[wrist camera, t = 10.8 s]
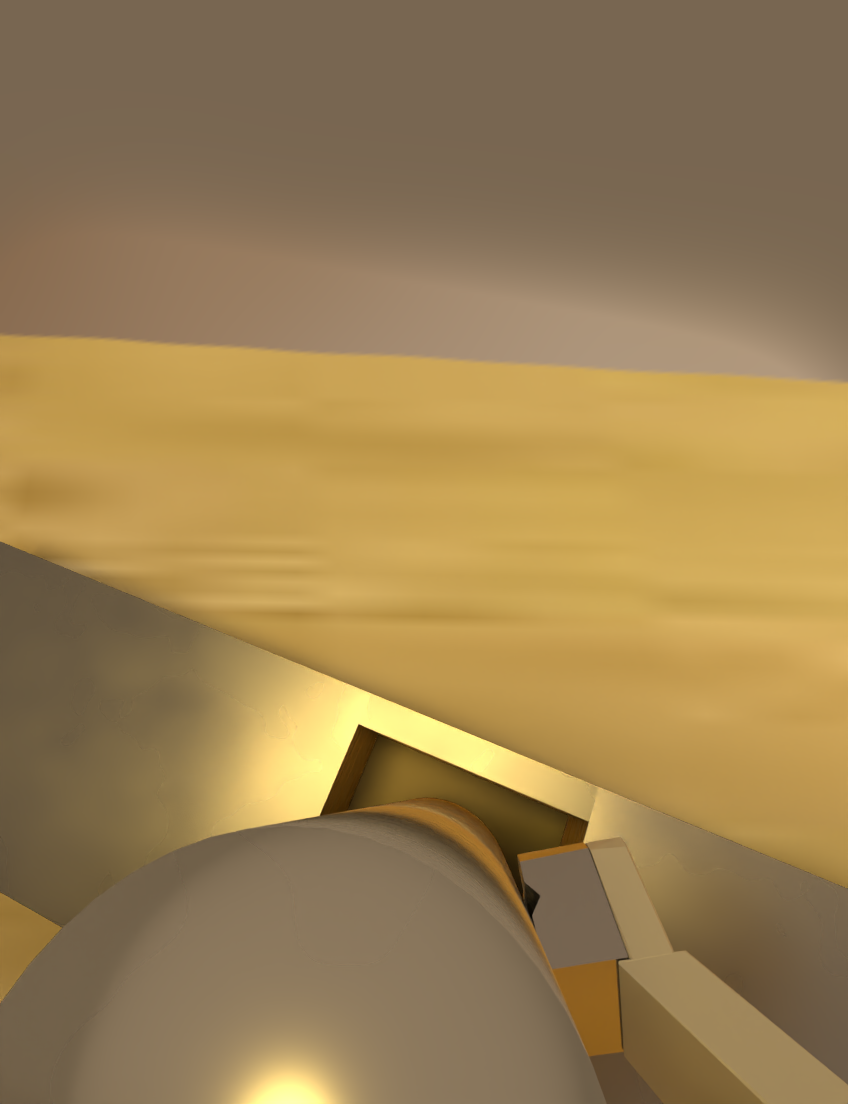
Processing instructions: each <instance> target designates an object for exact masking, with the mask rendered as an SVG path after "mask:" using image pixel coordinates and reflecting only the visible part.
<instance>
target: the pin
mask: <svg viewBox="0 0 848 1104" xmlns="http://www.w3.org/2000/svg"><path fill="white" fill-rule="evenodd" d="M0 1104H607V1103H606V1100H605V1098H604V1095H603V1092H602V1089H601V1087H600V1084H599V1081H598V1079H597V1076H596V1073H595V1070H594V1068H593V1065H592V1063H591V1060H590V1058H589V1056H588V1053H587V1051H586V1049H585V1046H584V1044H583V1042H582V1039H581V1037H580V1034H579V1032H578V1030H577V1027H576V1025H575V1023H574V1020H573V1018H572V1016H571V1013H570V1011H569V1008H568V1006H567V1004H566V1001H565V999H564V997H563V994H562V992H561V990H560V987H559V985H558V982H557V980H556V978H555V975H554V973H553V971H552V968H551V966H550V964H549V961H548V959H547V956H546V954H545V952H544V949H543V947H542V945H541V942H540V940H539V938H538V935H537V933H536V930H535V928H534V926H533V923H532V921H531V919H530V916H529V914H528V912H527V909H526V907H525V904H524V902H523V900H522V897H521V895H520V893H519V890H518V888H517V886H516V883H515V881H514V878H513V876H512V874H511V871H510V869H509V867H508V864H507V862H506V860H505V857H504V855H503V852H502V850H501V848H500V846H499V844H498V842H497V841H496V839H495V837H494V836H493V834H492V833H491V831H490V830H489V829H488V828H487V827H486V825H485V824H484V823H483V822H482V821H481V820H480V819H479V818H477V817H476V816H475V815H474V814H472V813H471V812H470V811H468V810H467V809H465V808H463V807H461V806H459V805H457V804H455V803H452V802H449V801H446V800H442V799H437V798H418V799H412V800H406V801H400V802H395V803H389V804H383V805H378V806H372V807H367V808H361V809H355V810H350V811H344V812H339V813H333V814H327V815H322V816H316V817H310V818H305V819H299V820H294V821H288V822H282V823H277V824H271V825H266V826H260V827H254V828H249V829H244V830H240V831H235V832H231V833H226V834H222V835H217V836H213V837H209V838H206V839H203V840H201V841H198V842H195V843H193V844H190V845H187V846H185V847H182V848H179V849H177V850H174V851H171V852H169V853H168V854H166V855H164V856H162V857H160V858H158V859H156V860H154V861H152V862H151V863H149V864H147V865H145V866H143V867H141V868H139V869H137V870H136V871H134V872H132V873H131V874H129V875H128V876H127V877H125V878H124V879H122V880H121V881H119V882H118V883H117V884H115V885H114V886H112V887H111V888H109V889H108V890H107V891H105V892H104V893H102V894H101V895H99V896H98V897H97V898H96V899H94V900H93V901H92V902H91V903H90V904H89V905H88V906H87V907H85V908H84V909H83V910H82V911H81V912H80V913H79V914H78V915H76V916H75V917H74V918H73V919H72V920H71V921H70V922H69V923H67V924H66V925H65V926H64V927H63V928H62V929H61V930H60V931H59V932H58V933H57V934H56V936H55V937H54V938H53V939H52V940H51V941H50V942H49V943H48V944H47V945H46V947H45V948H44V949H43V950H42V951H41V952H40V953H39V954H38V955H37V956H36V958H35V959H34V960H33V961H32V962H31V963H30V964H29V966H28V967H27V968H26V970H25V971H24V972H23V974H22V975H21V976H20V978H19V979H18V980H17V982H16V983H15V984H14V986H13V987H12V988H11V990H10V991H9V993H8V994H7V995H6V997H5V998H4V999H3V1001H2V1002H1V1003H0Z"/></svg>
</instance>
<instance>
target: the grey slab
mask: <svg viewBox="0 0 848 1104" xmlns="http://www.w3.org/2000/svg"><path fill="white" fill-rule="evenodd" d="M378 735H380V736H383V737H385V738H388V739H390V740H392V741H395V742H397V743H399V744H402V745H404V746H406V747H409V748H411V749H413V750H416V751H418V752H420V753H423V754H425V755H428V756H430V757H432V758H435V759H437V760H439V761H442V762H444V763H446V764H449V765H451V766H453V767H456V768H458V769H461V770H463V771H465V772H468V773H470V774H472V775H475V776H477V777H479V778H482V779H484V780H486V781H489V782H491V783H493V784H496V785H498V786H501V787H503V788H505V789H508V790H510V791H512V792H515V793H517V794H519V795H522V796H524V797H526V798H529V799H531V800H534V801H536V802H538V803H541V804H543V805H545V806H548V807H550V808H552V809H555V810H557V811H559V812H562V813H564V814H566V815H569V817H568V820H567V823H566V827H565V830H564V834H563V837H562V840H561V844H560V846H566V845H571V844H577V843H582V842H584V844H586V843H588V842H593V841H599V840H605V839H610V838H616V837H621V839H622V840H623V841H624V842H625V843H626V845H627V847H628V849H629V851H630V854H631V856H632V858H633V860H634V863H635V865H636V867H637V869H638V872H639V874H640V876H641V878H642V881H643V883H644V885H645V887H646V890H647V892H648V894H649V896H650V898H651V901H652V903H653V905H654V907H655V910H656V912H657V914H658V916H659V919H660V921H661V923H662V925H663V928H664V930H665V932H666V934H667V937H668V939H669V941H670V943H671V946H672V948H673V950H674V952H676V951H684V950H686V951H687V952H688V953H690V954H691V955H692V956H693V957H694V958H696V959H697V960H698V961H699V962H700V963H702V964H703V965H704V966H705V967H706V968H708V969H709V970H710V971H711V972H713V973H714V974H715V975H716V976H717V977H719V978H720V979H721V980H722V981H723V982H725V983H726V984H727V985H728V986H729V987H731V988H732V989H733V990H734V991H735V992H737V993H738V994H739V995H740V996H741V997H743V998H744V999H745V1000H746V1001H747V1002H749V1003H750V1004H751V1005H752V1006H753V1007H755V1008H756V1009H757V1010H758V1011H759V1012H761V1013H762V1014H763V1015H764V1016H766V1017H767V1018H768V1019H769V1020H770V1021H772V1022H773V1023H774V1024H775V1025H776V1026H778V1027H779V1028H780V1029H781V1030H782V1031H784V1032H785V1033H786V1034H787V1035H788V1036H790V1037H791V1038H792V1039H793V1040H794V1041H796V1042H797V1043H798V1044H799V1045H800V1046H802V1047H803V1048H804V1049H805V1050H806V1051H808V1052H809V1053H810V1054H811V1055H812V1056H814V1057H815V1058H816V1059H817V1060H819V1061H820V1062H821V1063H822V1064H823V1065H825V1066H826V1067H827V1068H828V1069H829V1070H831V1071H832V1072H833V1073H834V1074H835V1075H837V1076H838V1077H839V1078H840V1079H841V1080H843V1081H844V1082H845V1083H846V1084H847V1085H848V889H847V888H845V887H842V886H840V885H837V884H835V883H832V882H830V881H828V880H825V879H823V878H820V877H818V876H815V875H813V874H810V873H808V872H806V871H803V870H801V869H798V868H796V867H793V866H791V865H788V864H786V863H784V862H781V861H779V860H776V859H774V858H771V857H769V856H767V855H764V854H762V853H759V852H757V851H754V850H752V849H749V848H747V847H745V846H742V845H740V844H737V843H735V842H732V841H730V840H727V839H725V838H723V837H720V836H718V835H715V834H713V833H710V832H708V831H705V830H703V829H701V828H698V827H696V826H693V825H691V824H688V823H686V822H684V821H681V820H679V819H676V818H674V817H671V816H669V815H666V814H664V813H662V812H659V811H657V810H654V809H652V808H649V807H647V806H644V805H642V804H640V803H637V802H635V801H632V800H630V799H627V798H625V797H622V796H620V795H618V794H615V793H613V792H610V791H608V790H605V789H603V788H601V787H598V786H596V785H593V784H591V783H588V782H586V781H583V780H581V779H579V778H576V777H574V776H571V775H569V774H566V773H564V772H561V771H559V770H557V769H554V768H552V767H549V766H547V765H544V764H542V763H539V762H537V761H535V760H532V759H530V758H527V757H525V756H522V755H520V754H517V753H515V752H513V751H510V750H508V749H505V748H503V747H500V746H498V745H496V744H493V743H491V742H488V741H486V740H483V739H481V738H478V737H476V736H474V735H471V734H469V733H466V732H464V731H461V730H459V729H456V728H454V727H452V726H449V725H447V724H444V723H442V722H439V721H437V720H434V719H432V718H430V717H427V716H425V715H422V714H420V713H417V712H415V711H413V710H410V709H408V708H405V707H403V706H400V705H398V704H395V703H393V702H391V701H388V700H386V699H383V698H381V697H378V696H376V695H373V694H371V693H369V692H366V691H364V690H361V689H359V688H356V687H354V686H351V685H349V684H347V683H344V682H342V681H339V680H337V679H334V678H332V677H330V676H327V675H325V674H322V673H320V672H317V671H315V670H312V669H310V668H308V667H305V666H303V665H300V664H298V663H295V662H293V661H290V660H288V659H286V658H283V657H281V656H278V655H276V654H273V653H271V652H268V651H266V650H264V649H261V648H259V647H256V646H254V645H251V644H249V643H247V642H244V641H242V640H239V639H237V638H234V637H232V636H229V635H227V634H225V633H222V632H220V631H217V630H215V629H212V628H210V627H207V626H205V625H203V624H200V623H198V622H195V621H193V620H190V619H188V618H185V617H183V616H181V615H178V614H176V613H173V612H171V611H168V610H166V609H164V608H161V607H159V606H156V605H154V604H151V603H149V602H146V601H144V600H142V599H139V598H137V597H134V596H132V595H129V594H127V593H124V592H122V591H120V590H117V589H115V588H112V587H110V586H107V585H105V584H102V583H100V582H98V581H95V580H93V579H90V578H88V577H85V576H83V575H81V574H78V573H76V572H73V571H71V570H68V569H66V568H63V567H61V566H59V565H56V564H54V563H51V562H49V561H46V560H44V559H41V558H39V557H37V556H34V555H32V554H29V553H27V552H24V551H22V550H19V549H17V548H15V547H12V546H10V545H7V544H5V543H2V542H0V892H1V893H3V894H4V895H6V896H8V897H10V898H11V899H13V900H15V901H17V902H18V903H20V904H22V905H24V906H25V907H27V908H29V909H31V910H32V911H34V912H36V913H38V914H39V915H41V916H43V917H45V918H46V919H48V920H50V921H52V922H53V923H55V924H57V925H59V926H60V927H62V928H63V927H64V926H65V925H66V924H67V923H69V922H70V921H71V920H72V919H73V918H74V917H75V916H76V915H78V914H79V913H80V912H81V911H82V910H83V909H84V908H85V907H87V906H88V905H89V904H90V903H91V902H92V901H93V900H94V899H96V898H97V897H98V896H99V895H101V894H102V893H104V892H105V891H107V890H108V889H109V888H111V887H112V886H114V885H115V884H117V883H118V882H119V881H121V880H122V879H124V878H125V877H127V876H128V875H129V874H131V873H132V872H134V871H136V870H137V869H139V868H141V867H143V866H145V865H147V864H149V863H151V862H152V861H154V860H156V859H158V858H160V857H162V856H164V855H166V854H168V853H169V852H171V851H174V850H177V849H179V848H182V847H185V846H187V845H190V844H193V843H195V842H198V841H201V840H203V839H206V838H209V837H213V836H217V835H222V834H226V833H231V832H235V831H240V830H244V829H249V828H254V827H260V826H266V825H271V824H277V823H282V822H288V821H294V820H299V819H305V818H310V817H316V816H322V815H327V814H333V813H339V812H344V811H347V809H348V807H349V804H350V802H351V800H352V797H353V795H354V792H355V790H356V787H357V785H358V783H359V780H360V778H361V775H362V773H363V770H364V768H365V766H366V763H367V761H368V758H369V756H370V753H371V751H372V748H373V746H374V744H375V741H376V739H377V736H378ZM589 1058H590V1060H591V1063H592V1065H593V1068H594V1070H595V1073H596V1076H597V1079H598V1081H599V1084H600V1087H601V1089H602V1092H603V1095H604V1098H605V1100H606V1103H607V1104H663V1102H662V1101H661V1100H660V1099H659V1098H658V1096H657V1095H656V1094H655V1093H654V1091H653V1090H652V1089H651V1088H650V1087H649V1085H648V1084H647V1083H646V1082H645V1081H644V1079H643V1078H642V1077H641V1076H640V1075H639V1073H638V1072H637V1071H636V1070H635V1069H634V1067H633V1066H632V1065H631V1064H630V1063H629V1061H628V1060H627V1059H626V1058H625V1057H624V1052H618V1053H610V1054H603V1055H595V1056H589Z"/></svg>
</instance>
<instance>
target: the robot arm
mask: <svg viewBox="0 0 848 1104" xmlns="http://www.w3.org/2000/svg"><path fill="white" fill-rule="evenodd" d="M517 858H518V866H519V873H520V878H521V882H522V887H523V891H524V893H523V899H524V904H525V907H526V909H527V912H528V914H529V916H530V919H531V921H532V923H533V926H534V928H535V930H536V933H537V935H538V938H539V940H540V942H541V945H542V947H543V949H544V952H545V954H546V956H547V959H548V961H549V964H550V966H551V968H552V971H553V973H554V975H555V978H556V980H557V982H558V985H559V987H560V990H561V992H562V994H563V997H564V999H565V1001H566V1004H567V1006H568V1008H569V1011H570V1013H571V1016H572V1018H573V1020H574V1023H575V1025H576V1027H577V1030H578V1032H579V1034H580V1037H581V1039H582V1042H583V1044H584V1046H585V1049H586V1051H587V1053H588V1056H595V1055H603V1054H610V1053H618V1052H624V1057H625V1058H626V1059H627V1060H628V1061H629V1063H630V1064H631V1065H632V1066H633V1067H634V1069H635V1070H636V1071H637V1072H638V1073H639V1075H640V1076H641V1077H642V1078H643V1079H644V1081H645V1082H646V1083H647V1084H648V1085H649V1087H650V1088H651V1089H652V1090H653V1091H654V1093H655V1094H656V1095H657V1096H658V1098H659V1099H660V1100H661V1101H662V1102H663V1104H848V1085H847V1084H846V1083H845V1082H844V1081H843V1080H841V1079H840V1078H839V1077H838V1076H837V1075H835V1074H834V1073H833V1072H832V1071H831V1070H829V1069H828V1068H827V1067H826V1066H825V1065H823V1064H822V1063H821V1062H820V1061H819V1060H817V1059H816V1058H815V1057H814V1056H812V1055H811V1054H810V1053H809V1052H808V1051H806V1050H805V1049H804V1048H803V1047H802V1046H800V1045H799V1044H798V1043H797V1042H796V1041H794V1040H793V1039H792V1038H791V1037H790V1036H788V1035H787V1034H786V1033H785V1032H784V1031H782V1030H781V1029H780V1028H779V1027H778V1026H776V1025H775V1024H774V1023H773V1022H772V1021H770V1020H769V1019H768V1018H767V1017H766V1016H764V1015H763V1014H762V1013H761V1012H759V1011H758V1010H757V1009H756V1008H755V1007H753V1006H752V1005H751V1004H750V1003H749V1002H747V1001H746V1000H745V999H744V998H743V997H741V996H740V995H739V994H738V993H737V992H735V991H734V990H733V989H732V988H731V987H729V986H728V985H727V984H726V983H725V982H723V981H722V980H721V979H720V978H719V977H717V976H716V975H715V974H714V973H713V972H711V971H710V970H709V969H708V968H706V967H705V966H704V965H703V964H702V963H700V962H699V961H698V960H697V959H696V958H694V957H693V956H692V955H691V954H690V953H688V952H687V951H686V950H684V951H676V952H674V950H673V948H672V946H671V943H670V941H669V939H668V937H667V934H666V932H665V930H664V928H663V925H662V923H661V921H660V919H659V916H658V914H657V912H656V910H655V907H654V905H653V903H652V901H651V898H650V896H649V894H648V892H647V890H646V887H645V885H644V883H643V881H642V878H641V876H640V874H639V872H638V869H637V867H636V865H635V863H634V860H633V858H632V856H631V854H630V851H629V849H628V847H627V845H626V843H625V842H624V841H623V840H622V839H621V837H616V838H610V839H605V840H599V841H593V842H588V843H586V844H584V842H582V843H577V844H571V845H566V846H560V847H555V848H550V849H544V850H539V851H533V852H528V853H523V854H517Z"/></svg>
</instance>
